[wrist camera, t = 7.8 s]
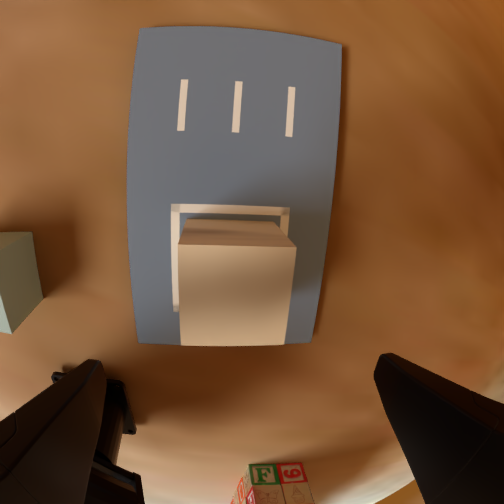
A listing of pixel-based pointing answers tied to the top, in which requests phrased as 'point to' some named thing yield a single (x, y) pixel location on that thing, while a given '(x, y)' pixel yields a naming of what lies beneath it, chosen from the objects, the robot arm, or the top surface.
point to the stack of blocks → (273, 485)
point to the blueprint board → (229, 156)
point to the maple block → (234, 282)
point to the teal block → (17, 279)
